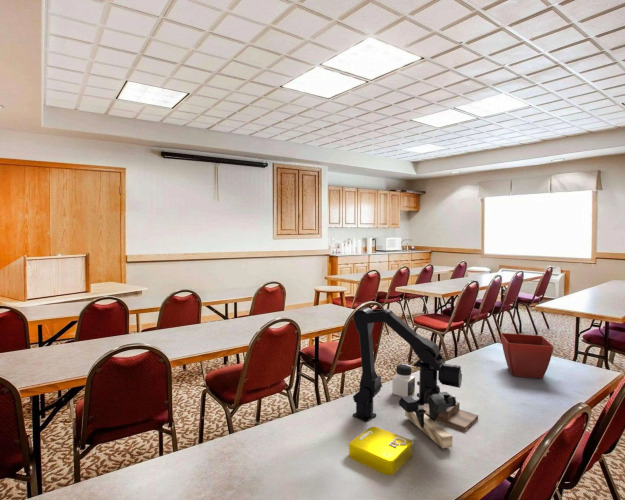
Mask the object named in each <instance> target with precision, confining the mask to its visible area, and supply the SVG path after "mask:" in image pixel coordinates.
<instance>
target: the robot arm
mask: <svg viewBox="0 0 625 500" xmlns="http://www.w3.org/2000/svg"><path fill="white" fill-rule="evenodd" d="M352 317H353V318H352V319H353V323H354V326H355V328H356V330H357V333H358V335H359V345H360V346H359V347H360V357H361V359H360V361H361V377H360V381H359V390H358V392H356V393H355V394H354V395H353V396H352V399H353V401H354V403H355V410H356V411H355V412H354V413H352V417H355V418H357V419H360V420H362V421H364V422H369V421H370V420H372V419H373V418H376V416H377V413H375V412H374V398H375V397H376V395H378V393H379V392H380V391H381V388H382V387H383V384H382V376H381V375H378V373H377V372H376V367H375V366H376V365H375V354H374V352H375V351H374V342H373V340H374V339H373V329H374V326H375V323H385V324H386V325H387V326H388V327H389V328H390V329H392V331H394V332H395V333H396V334H397V335H398V336H400V338H402V339H403V340H404V341H405V342H406V343H407V344H408V345H409V346H410V347H411V349H412V350H413V352H414V354H415V356H417V357H418V359H417V361H415V362H414V363H413V367H415V368H419V378H418V379H419V380H418V381H416V385H417V386H418V392H417V393H416V397H417V399H415V398H413V397H412V396H408V397H402V396H400V398H399V400H398V406H399V407H401V408H402V409H403V410H404V412H405V411H406V412H415V413H416V416H417V418H418V421H419V423H420V426H421V427H422V428H423V427H424V413H425V412H426V411H425V410H424V405H428V404H429V414H430V418H431V419H432V420H433V421H434V422H437V421H436V419H437V416H438V414H439V413H440V412H446V411H447V407H452V406H456V402H457V399H455V397H453V396H452V395H453V394H451V393H449V392H447V391H441V387H440V386H439V385H438V381H439V383H441V385H442V386H443V385H444V386H449V387H452V388H458V389H461V386H462V381H463V374H462V370H461V369H462V368H461V367H462V366H461V365H459V364H458V365H457V364H451V363H450V364H449V363H446V360H445V359H444V357H443V356H442V354H441V353H440V348H439V346H438V344H436V343H435V342H433V341H432V340H430V339H428V338H427V337H425V336H422V335H420V334H418V333H417V332H416V331H415V330H414V329H413V328H411V327H410V326H409V325H408V324H407V323H406V322H405V321H403V320H402V319H401V318H400V317H399V316H397V315H396V313H394V312H393V310H392V309H389V308H386V309H379V308H378V309H377V308H376V309H375V308H374V309H373V308H370V307H362V308H360V309H359V310H357V311H355V313H354V314H353V316H352Z"/></svg>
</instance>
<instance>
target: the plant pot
mask: <svg viewBox="0 0 625 500" xmlns="http://www.w3.org/2000/svg"><path fill="white" fill-rule="evenodd" d="M500 339H501V341H500V342H501V346H502V350H503V355H504V358H505V362H506V365H507V368H508V370H509V372H510V373H511V374H512V376H513V377H521V378H533V379H540V380H541V379H543V378H544V376H545V375H546V372H547V370H548V367H549V365H550V362H551V359H552V355H553V352H554V351H553V350H554V345H552V343H551V342H549V341H548V340H547V339H546V338H545V337H544V336H542V335H534V334H522V333H521V334H519V333H508V332H507V333H505V332H501V333H500Z"/></svg>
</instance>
